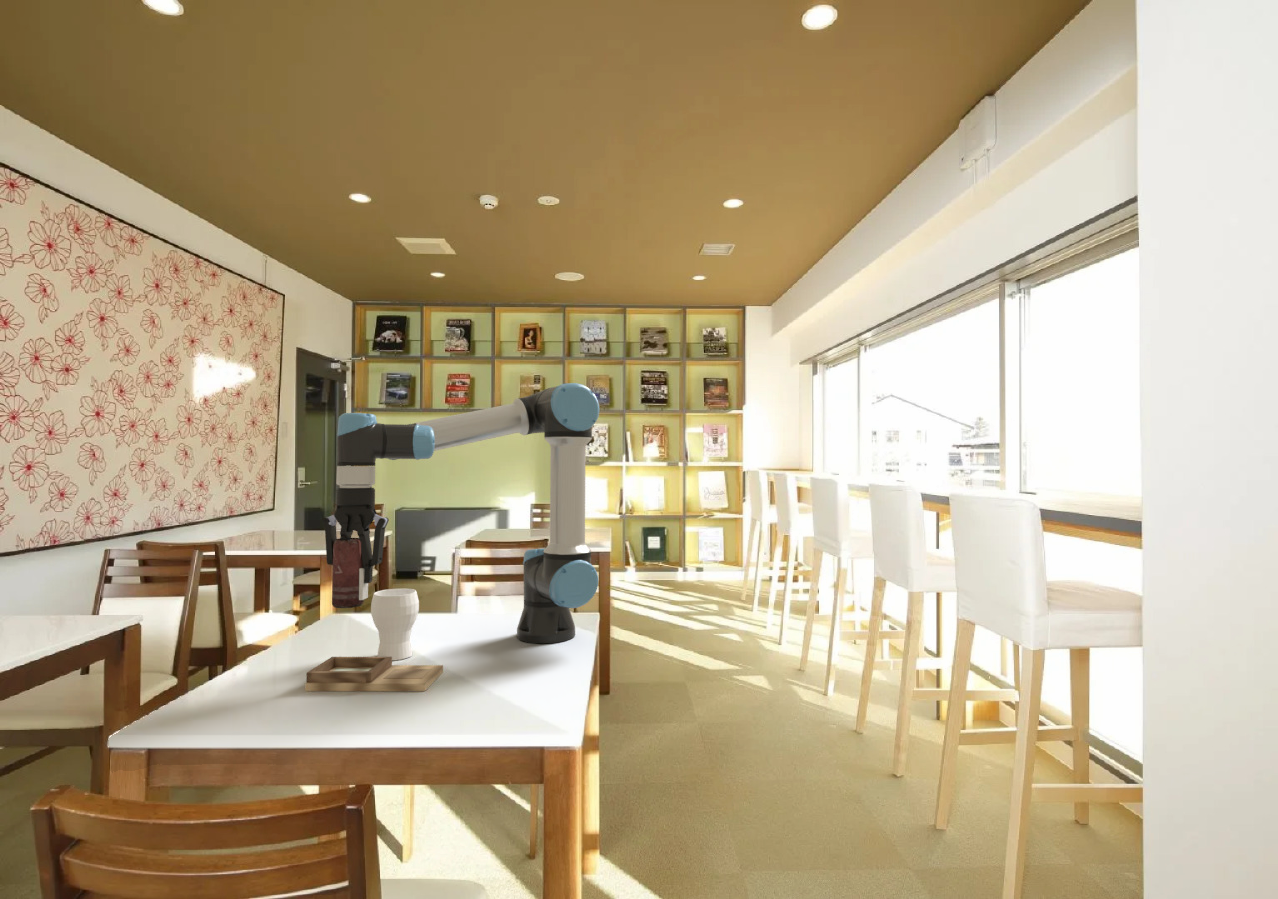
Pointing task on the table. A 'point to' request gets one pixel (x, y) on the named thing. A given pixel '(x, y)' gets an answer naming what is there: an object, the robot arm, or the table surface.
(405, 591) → the cup
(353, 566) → the can
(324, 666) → the holder board
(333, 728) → the table surface
